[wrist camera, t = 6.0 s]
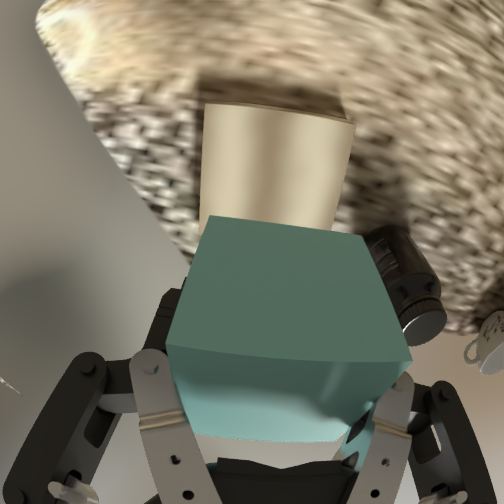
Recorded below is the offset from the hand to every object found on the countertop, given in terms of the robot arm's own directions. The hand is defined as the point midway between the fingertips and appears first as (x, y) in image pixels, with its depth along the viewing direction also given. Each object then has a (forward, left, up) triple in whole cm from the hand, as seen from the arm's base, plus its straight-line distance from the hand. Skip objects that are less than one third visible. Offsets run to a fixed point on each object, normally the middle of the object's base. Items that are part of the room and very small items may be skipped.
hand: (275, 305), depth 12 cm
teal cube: (0, 0, -1) cm, 1 cm away
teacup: (-43, +19, -18) cm, 50 cm away
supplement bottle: (-14, +7, -18) cm, 24 cm away
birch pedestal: (0, 0, -18) cm, 18 cm away
